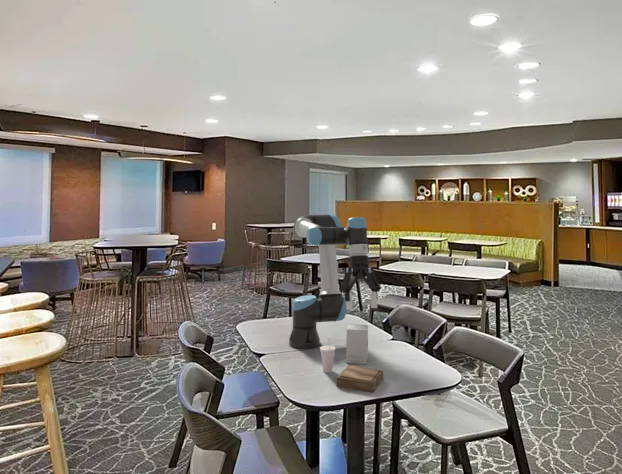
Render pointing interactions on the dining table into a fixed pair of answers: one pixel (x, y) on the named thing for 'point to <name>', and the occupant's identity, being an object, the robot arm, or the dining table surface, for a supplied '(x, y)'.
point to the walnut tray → (359, 378)
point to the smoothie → (327, 357)
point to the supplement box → (357, 344)
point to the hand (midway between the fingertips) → (362, 309)
